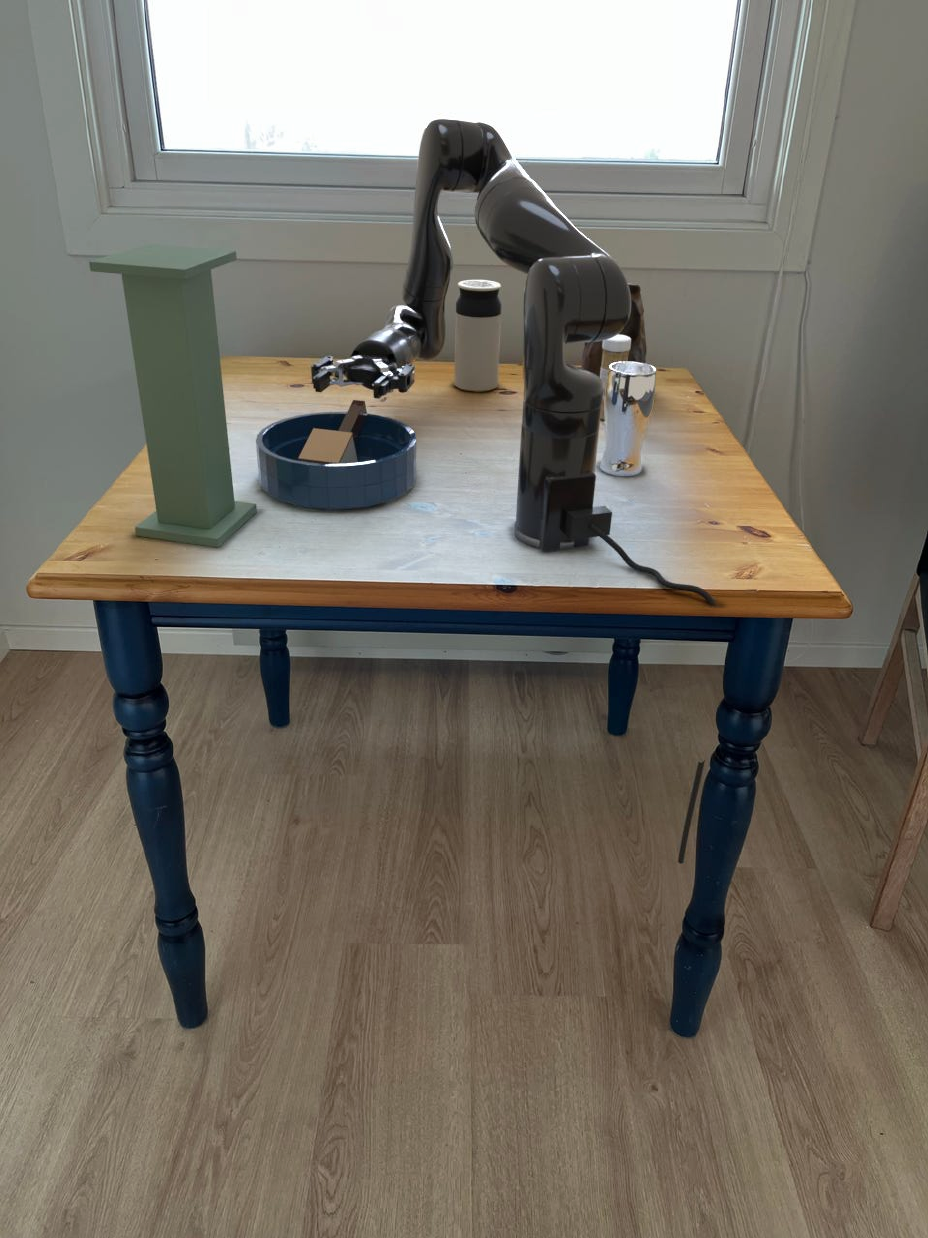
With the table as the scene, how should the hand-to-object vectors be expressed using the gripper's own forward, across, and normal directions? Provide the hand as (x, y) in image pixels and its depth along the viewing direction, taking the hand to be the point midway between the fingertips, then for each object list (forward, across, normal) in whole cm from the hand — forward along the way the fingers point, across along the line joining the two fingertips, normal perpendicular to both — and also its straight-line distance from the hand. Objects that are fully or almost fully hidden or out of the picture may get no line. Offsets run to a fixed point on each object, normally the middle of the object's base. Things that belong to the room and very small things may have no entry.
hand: (346, 388), depth 130 cm
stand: (+23, -12, +12) cm, 28 cm away
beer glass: (-13, +38, +12) cm, 42 cm away
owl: (-50, +34, +12) cm, 62 cm away
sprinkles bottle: (-36, +33, +12) cm, 51 cm away
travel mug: (-46, +8, +12) cm, 48 cm away
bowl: (+4, 0, +12) cm, 13 cm away
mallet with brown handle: (+2, 0, +8) cm, 9 cm away
